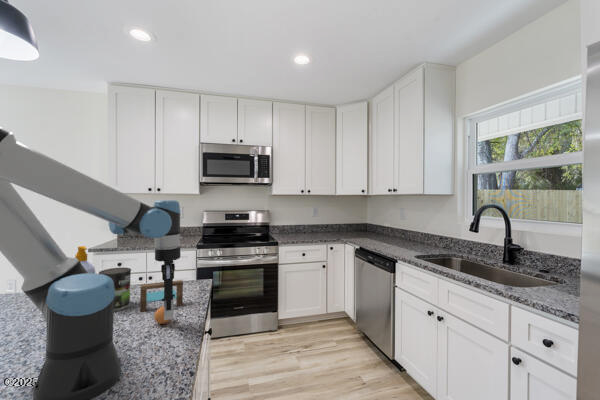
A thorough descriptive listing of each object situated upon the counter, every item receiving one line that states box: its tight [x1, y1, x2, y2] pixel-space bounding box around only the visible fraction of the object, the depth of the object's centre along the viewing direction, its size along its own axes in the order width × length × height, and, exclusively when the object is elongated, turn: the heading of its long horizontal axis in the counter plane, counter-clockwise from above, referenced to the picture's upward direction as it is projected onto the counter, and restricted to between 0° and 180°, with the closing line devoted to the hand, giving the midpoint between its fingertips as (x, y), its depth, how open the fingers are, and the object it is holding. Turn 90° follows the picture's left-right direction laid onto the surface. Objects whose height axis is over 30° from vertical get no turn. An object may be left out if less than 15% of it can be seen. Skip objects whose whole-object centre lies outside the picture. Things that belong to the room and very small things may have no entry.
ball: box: [154, 305, 172, 325], centre depth 90 cm, size 6×6×6 cm
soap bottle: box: [74, 245, 96, 273], centre depth 99 cm, size 9×9×24 cm
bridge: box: [139, 279, 184, 313], centre depth 104 cm, size 3×14×9 cm, turn 119°
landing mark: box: [146, 288, 177, 303], centre depth 116 cm, size 12×12×1 cm
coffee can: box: [98, 267, 132, 312], centre depth 103 cm, size 10×10×14 cm
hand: (168, 318), depth 88 cm, fingers closed
